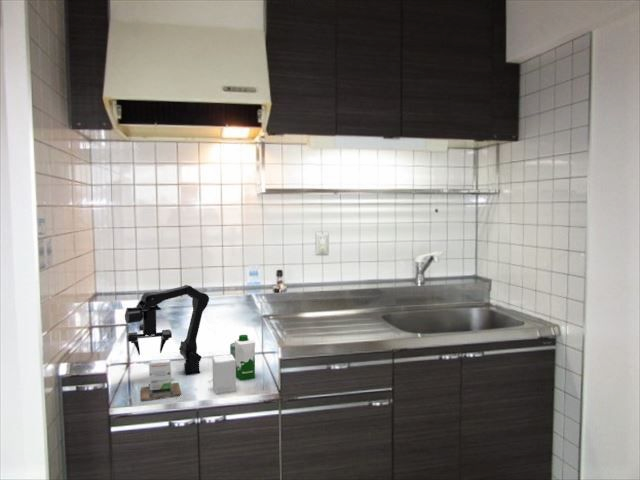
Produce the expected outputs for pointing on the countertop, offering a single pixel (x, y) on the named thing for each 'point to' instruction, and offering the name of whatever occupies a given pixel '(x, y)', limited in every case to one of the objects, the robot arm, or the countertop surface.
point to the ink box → (160, 374)
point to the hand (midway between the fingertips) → (150, 353)
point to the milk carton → (245, 358)
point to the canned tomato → (232, 349)
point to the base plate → (160, 392)
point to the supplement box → (224, 374)
